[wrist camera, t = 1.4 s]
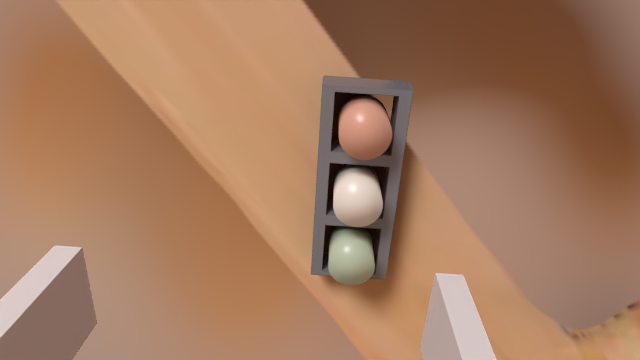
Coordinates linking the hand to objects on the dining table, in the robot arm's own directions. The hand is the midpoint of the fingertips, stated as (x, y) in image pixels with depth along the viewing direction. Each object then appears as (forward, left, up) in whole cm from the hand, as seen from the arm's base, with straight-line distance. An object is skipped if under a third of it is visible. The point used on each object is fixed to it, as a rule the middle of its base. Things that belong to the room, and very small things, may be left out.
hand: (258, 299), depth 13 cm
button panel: (-2, +10, -28) cm, 29 cm away
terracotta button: (-4, +4, -26) cm, 27 cm away
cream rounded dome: (-2, +10, -26) cm, 28 cm away
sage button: (-1, +15, -26) cm, 30 cm away
